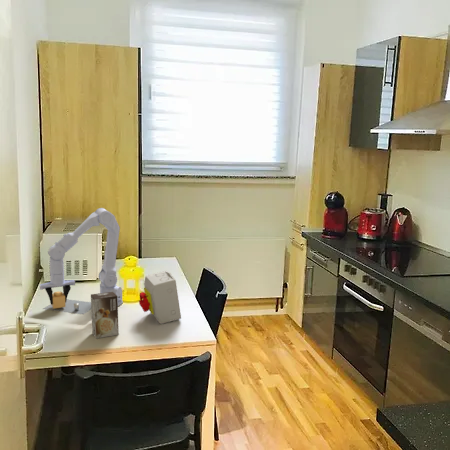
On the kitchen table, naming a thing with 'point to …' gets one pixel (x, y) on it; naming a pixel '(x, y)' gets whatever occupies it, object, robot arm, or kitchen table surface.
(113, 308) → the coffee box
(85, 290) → the kitchen table surface
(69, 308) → the terminal board
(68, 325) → the kitchen table surface
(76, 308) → the pigtail posts
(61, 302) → the light orange block
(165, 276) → the electrical switch box
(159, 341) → the kitchen table surface
